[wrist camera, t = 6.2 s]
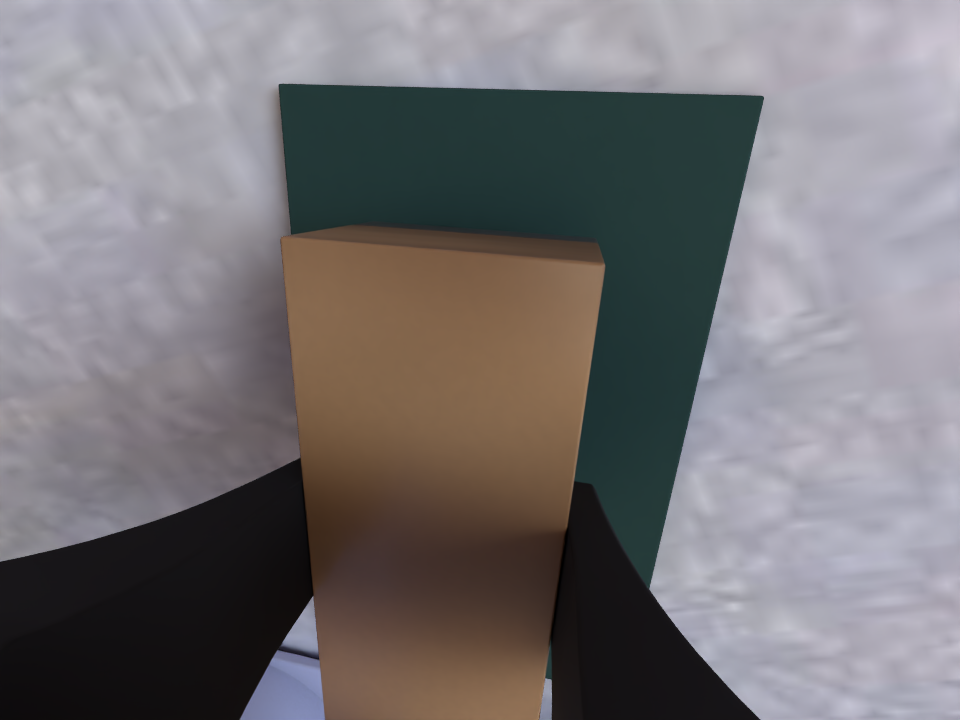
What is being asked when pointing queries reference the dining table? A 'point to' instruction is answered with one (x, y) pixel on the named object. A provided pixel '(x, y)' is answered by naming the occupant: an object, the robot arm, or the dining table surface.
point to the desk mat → (559, 232)
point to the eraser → (438, 457)
